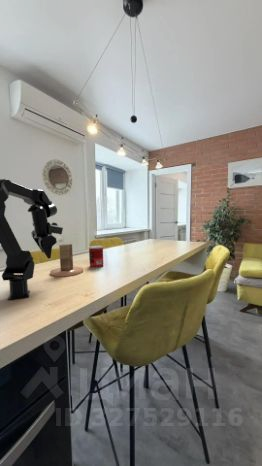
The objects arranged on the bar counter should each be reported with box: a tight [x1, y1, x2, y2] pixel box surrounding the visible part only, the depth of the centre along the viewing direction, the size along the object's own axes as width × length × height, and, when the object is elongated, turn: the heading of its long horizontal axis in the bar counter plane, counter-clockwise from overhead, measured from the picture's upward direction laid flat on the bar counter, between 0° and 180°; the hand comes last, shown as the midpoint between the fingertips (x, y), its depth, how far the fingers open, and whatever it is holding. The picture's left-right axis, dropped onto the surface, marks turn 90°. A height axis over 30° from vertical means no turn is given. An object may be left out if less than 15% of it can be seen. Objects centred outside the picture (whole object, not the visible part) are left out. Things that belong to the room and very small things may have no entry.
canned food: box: [88, 245, 104, 268], centre depth 125 cm, size 8×8×11 cm
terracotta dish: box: [49, 266, 84, 278], centre depth 112 cm, size 16×16×1 cm
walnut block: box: [58, 243, 74, 271], centre depth 111 cm, size 4×4×13 cm
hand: (46, 255), depth 97 cm, fingers open, 9 cm apart
